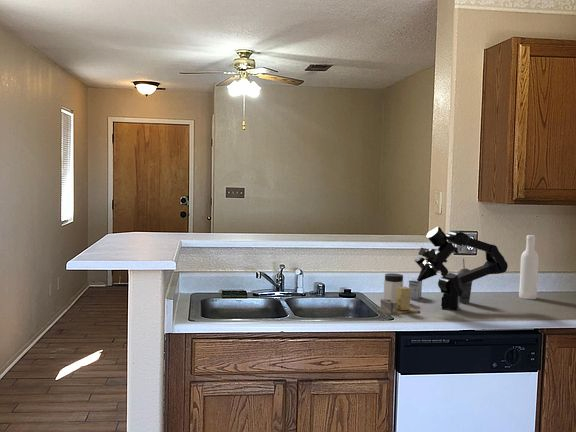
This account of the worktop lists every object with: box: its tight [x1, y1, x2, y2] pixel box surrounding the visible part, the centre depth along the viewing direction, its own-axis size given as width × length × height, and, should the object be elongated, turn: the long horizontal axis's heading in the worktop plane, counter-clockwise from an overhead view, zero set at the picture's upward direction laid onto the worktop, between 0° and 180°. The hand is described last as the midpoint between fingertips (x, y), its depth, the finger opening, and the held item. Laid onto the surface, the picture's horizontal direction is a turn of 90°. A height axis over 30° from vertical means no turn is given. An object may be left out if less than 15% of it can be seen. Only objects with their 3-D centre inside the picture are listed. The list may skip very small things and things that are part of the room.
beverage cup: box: [456, 258, 474, 304], centre depth 270 cm, size 7×7×20 cm
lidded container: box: [383, 272, 404, 302], centre depth 270 cm, size 9×8×12 cm
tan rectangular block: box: [395, 285, 411, 310], centre depth 249 cm, size 9×4×9 cm, turn 109°
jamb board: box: [379, 298, 421, 316], centre depth 250 cm, size 14×8×5 cm, turn 109°
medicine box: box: [408, 277, 423, 301], centre depth 278 cm, size 8×4×9 cm, turn 155°
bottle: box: [518, 234, 540, 300], centre depth 284 cm, size 8×8×30 cm
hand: (418, 280), depth 252 cm, fingers closed
